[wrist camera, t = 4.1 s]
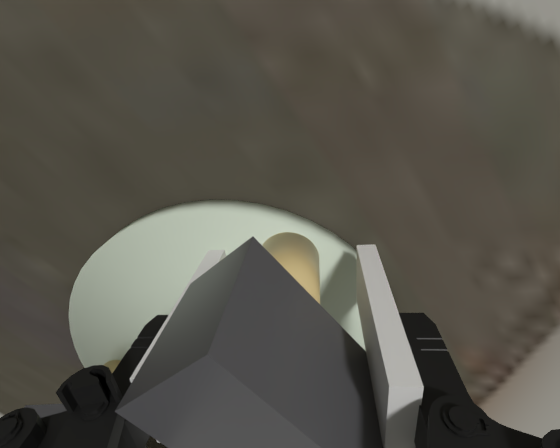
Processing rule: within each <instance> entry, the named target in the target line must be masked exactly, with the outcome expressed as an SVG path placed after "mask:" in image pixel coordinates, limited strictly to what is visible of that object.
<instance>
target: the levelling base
mask: <svg viewBox="0 0 560 448" xmlns="http://www.w3.org/2000/svg"><path fill="white" fill-rule="evenodd" d="M283 232H292V233H297V234H300V235H303V236H305V237H306V238H308V239H309V240H310V241H311V242H312V243H313V244H314V245H315V247H316V248H317V250H318V253H319V268H320V305H321V306H322V307H323V308H324V309H325V310H326V311H327V312H328V313H329V314H330V315H331V316H332V317H333V318H334V319H335V320H336V321H337V322H338V323H339V324H340V325H341V326H342V328H343V329H344V330H345V331H346V332H347V333H348V334H349V335H350V336H351V337H352V338H353V339H354V340H355V341H356V342H357V343H358V344H359V345H360V346H361V347H362V348H363V349H364V350H365V344H364V338H363V333H362V327H361V321H360V316H359V310H358V304H357V299H356V262H357V250H356V249H355V248H354V247H352V246H351V245H350V244H348V243H347V242H346V241H344V240H343V239H341V238H340V237H339V236H337V235H336V234H335V233H333V232H332V231H330V230H328V229H326V228H324V227H322V226H321V225H319V224H317V223H315V222H313V221H311V220H309V219H307V218H304V217H302V216H299V215H297V214H294V213H292V212H289V211H287V210H283V209H280V208H276V207H272V206H268V205H264V204H261V203H254V202H246V201H239V200H210V199H209V200H200V201H191V202H184V203H180V204H176V205H172V206H168V207H164V208H161V209H159V210H156V211H154V212H151V213H149V214H147V215H144V216H142V217H140V218H139V219H137V220H135V221H134V222H132V223H131V224H129V225H127V226H126V227H124V228H123V229H122V230H121V231H119V232H118V233H117V234H116V235H114V236H113V237H112V238H111V239H109V240H108V241H107V242H106V243H105V244H104V245H103V246H101V247H100V248H99V249H98V250H97V251H96V252H95V253H93V255H92V256H91V257H90V259H89V260H88V261H87V262H86V264H85V265H84V266H83V268H82V269H81V271H80V273H79V275H78V277H77V279H76V281H75V283H74V286H73V290H72V294H71V297H70V304H69V324H70V332H71V336H72V340H73V343H74V347H75V349H76V352H77V354H78V356H79V359H80V361H81V363H82V364H83V366H84V368H87V367H90V366H93V365H104V364H105V363H106V362H108V361H111V360H122V358H123V357H124V355H125V354H126V353H127V351H128V350H129V349H130V348H131V345H132V344H133V342H134V341H135V339H137V336H138V335H139V333H140V332H141V331H142V329H143V328H144V326H145V325H146V324H147V323H148V322H149V321H151V320H152V319H153V318H154V317H155V316H157V315H169V314H170V312H171V310H172V309H173V307H174V306H175V304H176V302H177V301H178V299H179V297H180V296H181V294H182V292H183V291H184V289H185V288H186V286H187V284H188V283H189V281H190V279H191V278H192V276H193V274H194V273H195V271H196V270H197V268H198V266H199V265H200V263H201V261H202V260H203V258H204V257H205V255H206V253H207V252H208V250H225V254H226V256H227V255H229V254H230V253H231V252H233V251H234V250H235V249H237V248H238V247H239V246H241V245H242V244H243V243H245V242H246V241H247V240H248V239H250V238H251V237H252V236H253V237H254V238H255V239H256V240H257V241H258V242H259V243H260V244H261V245H263V243H264V242H265V241H266V240H267V239H268V238H270V237H271V236H273V235H275V234H278V233H283ZM365 351H366V350H365Z"/></svg>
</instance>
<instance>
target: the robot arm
mask: <svg viewBox="0 0 560 448" xmlns="http://www.w3.org/2000/svg"><path fill="white" fill-rule="evenodd" d="M225 257H226V254H225V250H208V252H207V253H206V255H205V257H204V258H203V260H202V261H201V263H200V265H199V266H198V268H197V270H196V271H195V273H194V274H193V276H192V278H191V279H190V281H189V283H188V284H187V286H186V288H185V289H184V291H183V292H182V294H181V296H180V297H179V299H178V301H177V302H176V304H175V306H174V307H173V309H172V310H171V312H170V314H169V315H157V316H155V317H154V318H153V319H152V320H151V321H149V322H148V323H147V324H146V325H145V326H144V328H143V329H142V331H141V332H140V333H139V335H138V336H137V339H135V341H134V342H133V344H132V345H131V348H130V349H129V350H128V351H127V353H126V354H125V355H124V357H123V358H122V360H121V361H120V363H119V364H118V366H117V367H116V369H115V370H114V372H113V373H112V372H111V371H110V369H109V367H106V366H104V365H93V366H90V367H87V368H84V369H82V370H80V371H78V372H77V373H75V374H73V375H72V376H70V377H69V378H68V379H67V380H66V381H65V382H64V383H62V385H61V386H60V388H59V389H58V390H57V392H56V394H57V395H58V397H59V398H60V400H61V402H62V403H63V405H64V407H65V408H66V410H67V411H64V412H60V413H57V414H53V415H49V416H46V417H42V418H40V417H39V415H38V414H37V412H36V411H35V409H32V408H28V407H26V408H21V409H17V410H14V411H12V412H10V413H8V414H5V415H4V416H3V417H1V418H0V448H147V447H146V443H147V441H148V439H149V437H150V435H148V434H147V433H145V432H144V431H142V430H141V429H139V428H138V427H137V426H135V425H134V424H132V423H131V422H129V421H128V420H126V419H125V418H123V417H122V416H120V415H119V414H117V413H116V412H115V410H116V408H117V407H118V405H119V403H120V402H121V400H122V398H123V397H124V395H125V393H126V391H127V390H128V388H129V386H130V385H131V383H132V381H133V380H134V378H135V376H136V375H137V373H138V371H139V370H140V368H141V366H142V364H143V363H144V361H145V359H146V358H147V356H148V354H149V353H150V351H151V349H152V348H153V346H154V344H155V343H156V341H157V339H158V338H159V336H160V334H161V332H162V331H163V329H164V327H165V326H166V324H167V322H168V321H169V319H170V317H171V316H172V314H173V312H174V311H175V309H176V307H177V305H178V304H179V302H180V300H181V299H182V297H183V295H184V294H185V292H186V290H187V289H188V287H189V285H190V284H191V283H192V282H193V281H195V280H196V279H197V278H199V277H200V276H201V275H202V274H204V273H205V272H206V271H208V270H209V269H210V268H212V267H213V266H214V265H216V264H217V263H218V262H220V261H221V260H222V259H223V258H225ZM356 299H357V304H358V310H359V316H360V321H361V327H362V333H363V338H364V344H365V350H366V354H367V360H368V365H369V371H370V376H371V382H372V388H373V393H374V399H375V405H376V410H377V416H378V422H379V427H380V433H381V439H382V444H383V448H415V446H416V448H560V429H558V430H551V431H550V432H548V433H547V434H546V435H545V436H544V437H543V439H542V438H539V437H536V436H533V435H529V434H526V433H523V432H520V431H517V430H514V429H511V428H508V427H506V426H504V425H501V424H499V423H498V422H496V421H494V420H492V419H491V418H489V417H488V416H487V415H486V413H485V412H484V411H483V410H482V409H481V408H479V407H478V406H477V405H475V404H474V403H473V401H472V399H471V398H470V396H469V394H468V392H467V390H466V388H465V386H464V384H463V382H462V380H461V377H460V375H459V373H458V371H457V369H456V367H455V365H454V363H453V360H452V358H451V356H450V354H449V352H447V348H446V346H445V344H444V341H443V340H442V337H441V335H440V333H439V331H438V329H437V327H436V325H435V323H434V322H432V321H431V320H430V319H429V318H428V317H427V316H426V315H425V314H424V313H398V310H397V307H396V304H395V301H394V298H393V295H392V292H391V289H390V286H389V283H388V281H387V278H386V275H385V272H384V269H383V266H382V263H381V260H380V257H379V254H378V251H377V248H376V245H357V262H356ZM156 441H157V440H156ZM157 443H160V442H159V441H157Z"/></svg>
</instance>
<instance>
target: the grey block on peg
mask: <svg viewBox="0 0 560 448" xmlns="http://www.w3.org/2000/svg"><path fill="white" fill-rule="evenodd" d="M115 412H116V413H117V414H119V415H120V416H122V417H123V418H125V419H126V420H128V421H129V422H131V423H132V424H134V425H135V426H137V427H138V428H139V429H141V430H142V431H144V432H145V433H147V434H148V435H150V436H151V437H153V438H154V439H156V440H157V441H159V442H160V443H162V444H163V445H165V446H166V447H167V448H383V444H382V439H381V433H380V427H379V422H378V416H377V410H376V405H375V399H374V393H373V388H372V382H371V376H370V371H369V365H368V360H367V354H366V351H365V350H364V349H363V348H362V347H361V346H360V345H359V344H358V343H357V342H356V341H355V340H354V339H353V338H352V337H351V336H350V335H349V334H348V333H347V332H346V331H345V330H344V329H343V328H342V326H341V325H340V324H339V323H338V322H337V321H336V320H335V319H334V318H333V317H332V316H331V315H330V314H329V313H328V312H327V311H326V310H325V309H324V308H323V307H322V306H321V305H320V268H319V253H318V250H317V248H316V247H315V245H314V244H313V243H312V242H311V241H310V240H309V239H308V238H306V237H305V236H303V235H300V234H297V233H292V232H283V233H278V234H275V235H273V236H271V237H270V238H268V239H267V240H266V241H265V242H264V243H263V245H261V244H260V243H259V242H258V241H257V240H256V239H255V238H254V237H253V236H252V237H251V238H250V239H248V240H247V241H246V242H245V243H243V244H242V245H241V246H239V247H238V248H237V249H235V250H234V251H233V252H231V253H230V254H229V255H227V256H226V257H225V258H223V259H222V260H221V261H220V262H218V263H217V264H216V265H214V266H213V267H212V268H210V269H209V270H208V271H206V272H205V273H204V274H202V275H201V276H200V277H199V278H197V279H196V280H195V281H193V282H192V283H191V284H190V285H189V287H188V289H187V290H186V292H185V294H184V295H183V297H182V299H181V300H180V302H179V304H178V305H177V307H176V309H175V311H174V312H173V314H172V316H171V317H170V319H169V321H168V322H167V324H166V326H165V327H164V329H163V331H162V332H161V334H160V336H159V338H158V339H157V341H156V343H155V344H154V346H153V348H152V349H151V351H150V353H149V354H148V356H147V358H146V359H145V361H144V363H143V364H142V366H141V368H140V370H139V371H138V373H137V375H136V376H135V378H134V380H133V381H132V383H131V385H130V386H129V388H128V390H127V391H126V393H125V395H124V397H123V398H122V400H121V402H120V403H119V405H118V407H117V408H116V410H115Z"/></svg>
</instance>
